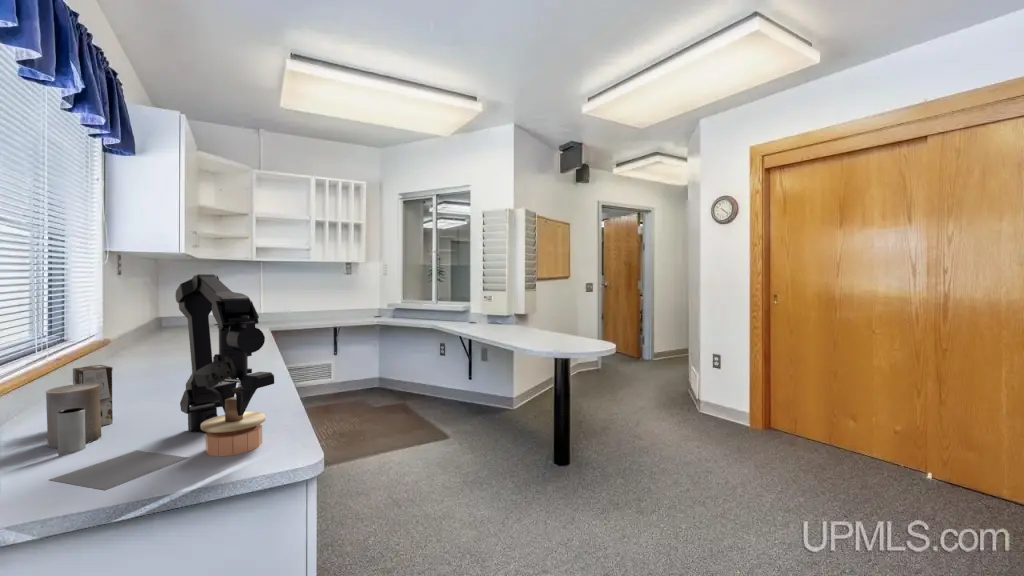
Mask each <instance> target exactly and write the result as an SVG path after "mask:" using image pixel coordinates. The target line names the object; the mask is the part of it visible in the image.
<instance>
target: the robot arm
mask: <svg viewBox="0 0 1024 576" xmlns="http://www.w3.org/2000/svg"><path fill="white" fill-rule="evenodd" d="M175 300H176V301H175V302H176V303H178V309H179V311H180V312H181V314H182V315H184V317H185V318H186V319H187V328H188V338H189V350H190V351H189V352H190V361H191V372H192V373H191V374H190V376H189V378H188V379H187V381H186V382H185V390H184V392H183V394H182V396H181V400H180V402H179V405H180V406H179V407H180V411H181V412H182V413H184V414H186V415H187V432H190V433H200V434H206V433H207V432H205V431H202V430H201V423H202V422H204V421H206V420H208V419H210V418H213V417H217V416H219V415H218V408H222V409H223V412H224V413H225V399H227V398H231V397H236V401H237V412H238V416H241V415H243V414H244V412H246V410H247V409H248V406H249V404H250V401H251V400H252V398H253V396H254V395H255V393H256V391H257V389H259V388H264V387H267V386H271V385H274V384H275V374H273V373H272V372H269V371H256V372H253V368H249V364H248V361H249V360H248V357H252V356H253V354H252V353H256V352H257V351H260V350H261V349H262V347H263V346H264V344H265V341H266V337H265V334H264V332H263V331H262V330H261V329H260V328H258V327H256V325H258V324H260V323H259V317H260V316H259V314H258V312H257V309H256V307H255V305H254V303H253V301H252V300H251V299H250V297H249V296H248V295H246V294H244V293H241V292H234V291H232V290H231V289H230V288H229V287H228V286H226V284H224V283H223V282H222V281H221V280H220V278H219V276H218V275H215V274H211V273H210V274H208V273H207V274H206V273H204V274H203V273H197V274H195V275H194V276H193V277H192V278H191V279H189V280H186V281H184V282H182V283H180V284H179V286H178V287H177V289H175ZM211 313H212V316H213V318H214V319H215V322H216V323H217V329H218V353H216V354H214V356H213V353H212V352H213V351H212V340H211V330H210V319H209V315H210V314H211Z"/></svg>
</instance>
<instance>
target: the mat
mask: <svg viewBox="0 0 1024 576" xmlns="http://www.w3.org/2000/svg"><path fill="white" fill-rule="evenodd" d="M189 458H190V457H187V456H181V455H173V454H165V453H158V452H153V451H146V450H145V451H144V450H138V449H136V450H134V451H131V452H128V453H125V454H121V455H119V456H115V457H113V458H110V459H107V460H104V461H100V462H98V463H94V464H92V465H88V466H86V467H82V468H79V469H76V470H74V471H71V472H68V473H65V474H62V475H60V476H59V475H58V476H56V477H54V478H50V479H48V481H52V482H56V483H62V484H67V485H72V486H73V485H74V486H80V487H84V488H85V487H86V488H90V489H95V490H101V491H107V490H110V489H112V488H115V487H118V486H121V485H122V484H125V483H128V482H131V481H133V480H135V479H139V478H140V477H143V476H146V475H149V474H151V473H154V472H156V471H160V470H162V469H164V468H167V467H170V466H172V465H174V464H177V463H179V462H182V461H184V460H188V459H189Z"/></svg>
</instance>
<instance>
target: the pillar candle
mask: <svg viewBox="0 0 1024 576" xmlns="http://www.w3.org/2000/svg"><path fill="white" fill-rule="evenodd" d="M44 392H45V399H46V402H45V403H46V404H45V405H46V406H45V407H46V428H47V429H46V431H47V446H48V447H49V448H51V449H58V420H57V413H58V412H59V411H62V410H66V409H71V408H85V444H88V443H92V442H94V441H97V440H98V439H99V438H101V437H102V426H101V411H100V392H99V384H97V383H84V384H75V382H74V384H73V383H72V384H68V385H67V384H66V385H62V386H57V387H53V388H50V389H48V390H45V391H44Z"/></svg>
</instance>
